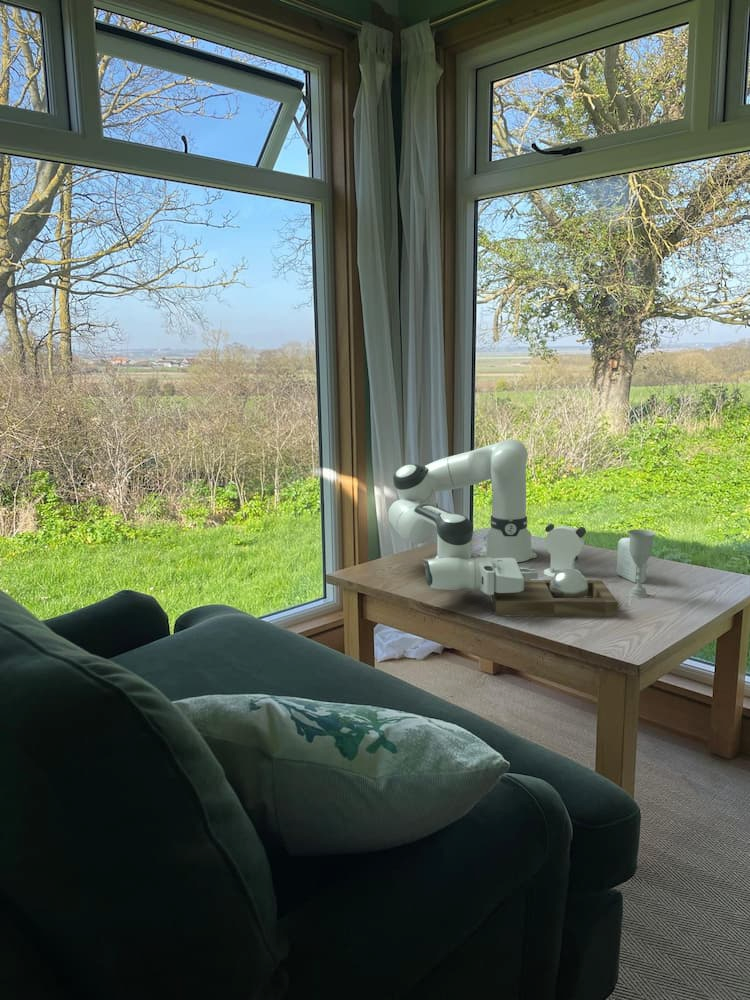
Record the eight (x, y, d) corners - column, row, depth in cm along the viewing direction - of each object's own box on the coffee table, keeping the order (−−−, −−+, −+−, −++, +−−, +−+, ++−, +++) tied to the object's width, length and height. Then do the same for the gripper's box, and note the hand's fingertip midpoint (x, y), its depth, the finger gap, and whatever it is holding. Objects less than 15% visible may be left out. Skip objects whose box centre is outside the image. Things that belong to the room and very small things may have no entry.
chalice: (619, 592, 203) (622, 530, 199) (638, 589, 205) (642, 528, 201) (637, 600, 196) (640, 536, 192) (657, 597, 198) (660, 534, 195)
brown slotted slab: (490, 593, 205) (490, 579, 204) (600, 593, 202) (601, 580, 201) (495, 615, 187) (496, 601, 186) (617, 616, 185) (617, 601, 184)
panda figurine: (586, 570, 223) (588, 524, 220) (579, 581, 214) (581, 532, 211) (548, 566, 229) (549, 520, 226) (539, 576, 219) (540, 528, 216)
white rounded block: (648, 582, 211) (650, 542, 208) (635, 584, 209) (637, 543, 207) (626, 573, 220) (628, 534, 218) (614, 574, 219) (615, 535, 217)
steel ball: (578, 561, 197) (586, 595, 198) (542, 570, 198) (551, 604, 199) (586, 569, 187) (596, 605, 188) (549, 579, 188) (559, 614, 189)
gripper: (482, 573, 204) (531, 573, 203) (488, 597, 184) (542, 597, 183) (482, 552, 203) (531, 552, 202) (488, 573, 183) (543, 573, 182)
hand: (537, 573), depth 193 cm, fingers closed
